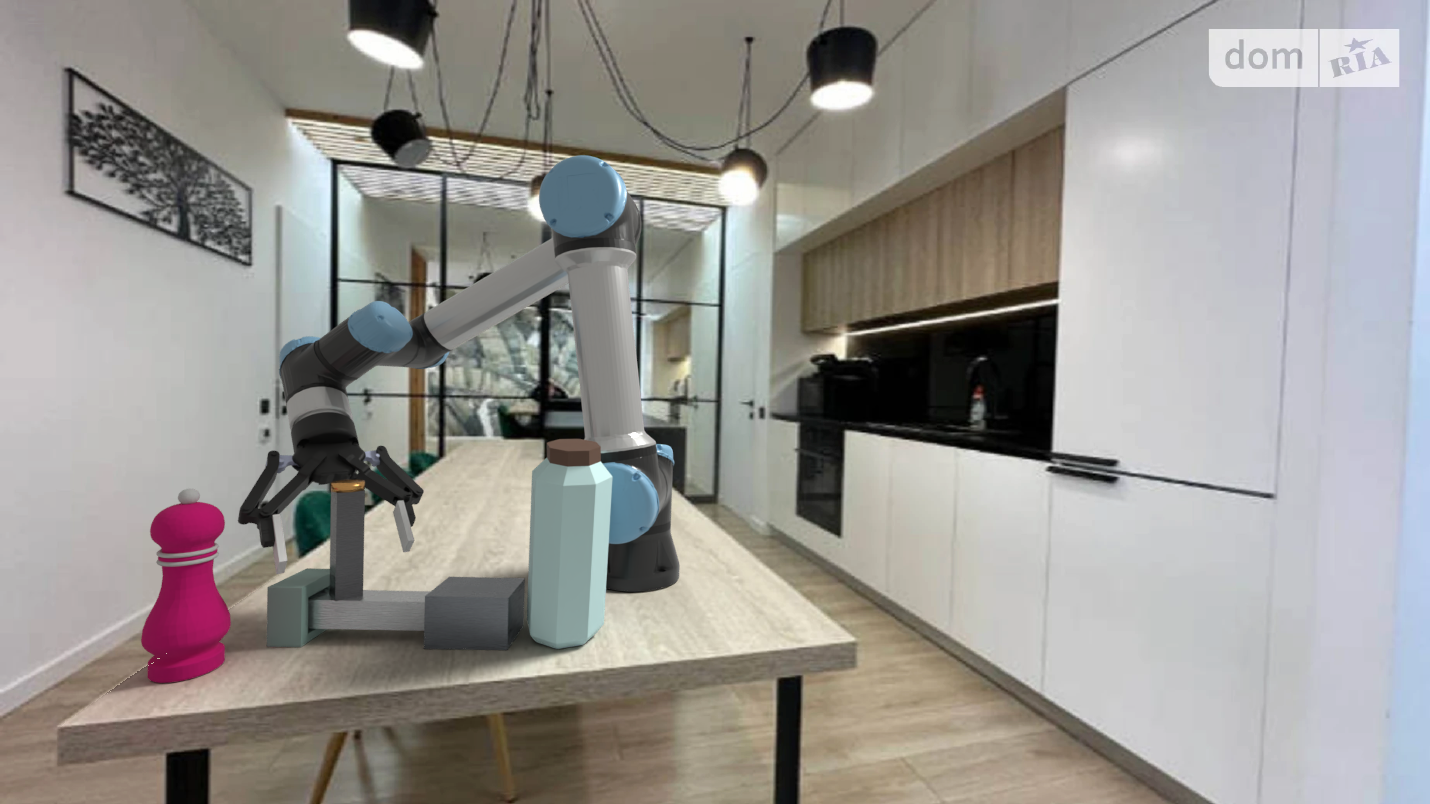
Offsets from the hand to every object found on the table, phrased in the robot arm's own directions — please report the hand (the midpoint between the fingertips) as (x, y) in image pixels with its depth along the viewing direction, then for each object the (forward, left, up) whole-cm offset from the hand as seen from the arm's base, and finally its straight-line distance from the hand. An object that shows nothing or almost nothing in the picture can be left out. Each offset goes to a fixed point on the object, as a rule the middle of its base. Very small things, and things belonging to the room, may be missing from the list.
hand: (349, 556), depth 71 cm
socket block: (+6, -1, -10) cm, 12 cm away
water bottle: (-26, -2, -10) cm, 28 cm away
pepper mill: (+13, +8, -11) cm, 18 cm away
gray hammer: (-2, -1, -9) cm, 9 cm away
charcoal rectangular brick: (-15, -1, -10) cm, 19 cm away
